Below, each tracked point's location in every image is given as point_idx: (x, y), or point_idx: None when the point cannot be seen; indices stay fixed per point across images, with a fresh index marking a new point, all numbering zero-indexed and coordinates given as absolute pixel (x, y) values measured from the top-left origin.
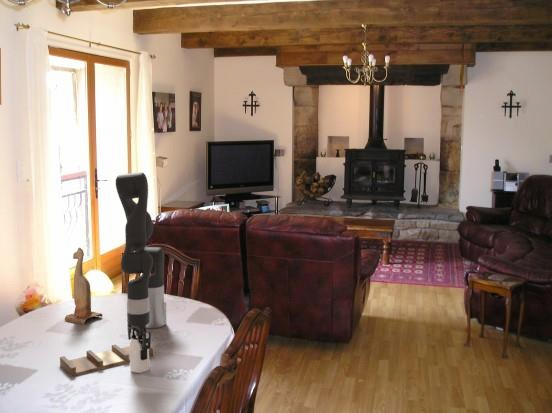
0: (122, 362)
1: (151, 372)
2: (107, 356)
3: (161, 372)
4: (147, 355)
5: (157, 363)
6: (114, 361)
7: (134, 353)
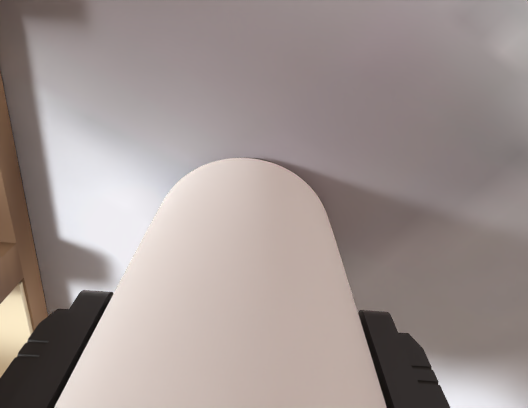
0: (33, 291)
1: (369, 188)
2: None
3: (446, 117)
4: (353, 303)
5: (212, 17)
6: (7, 347)
7: None
